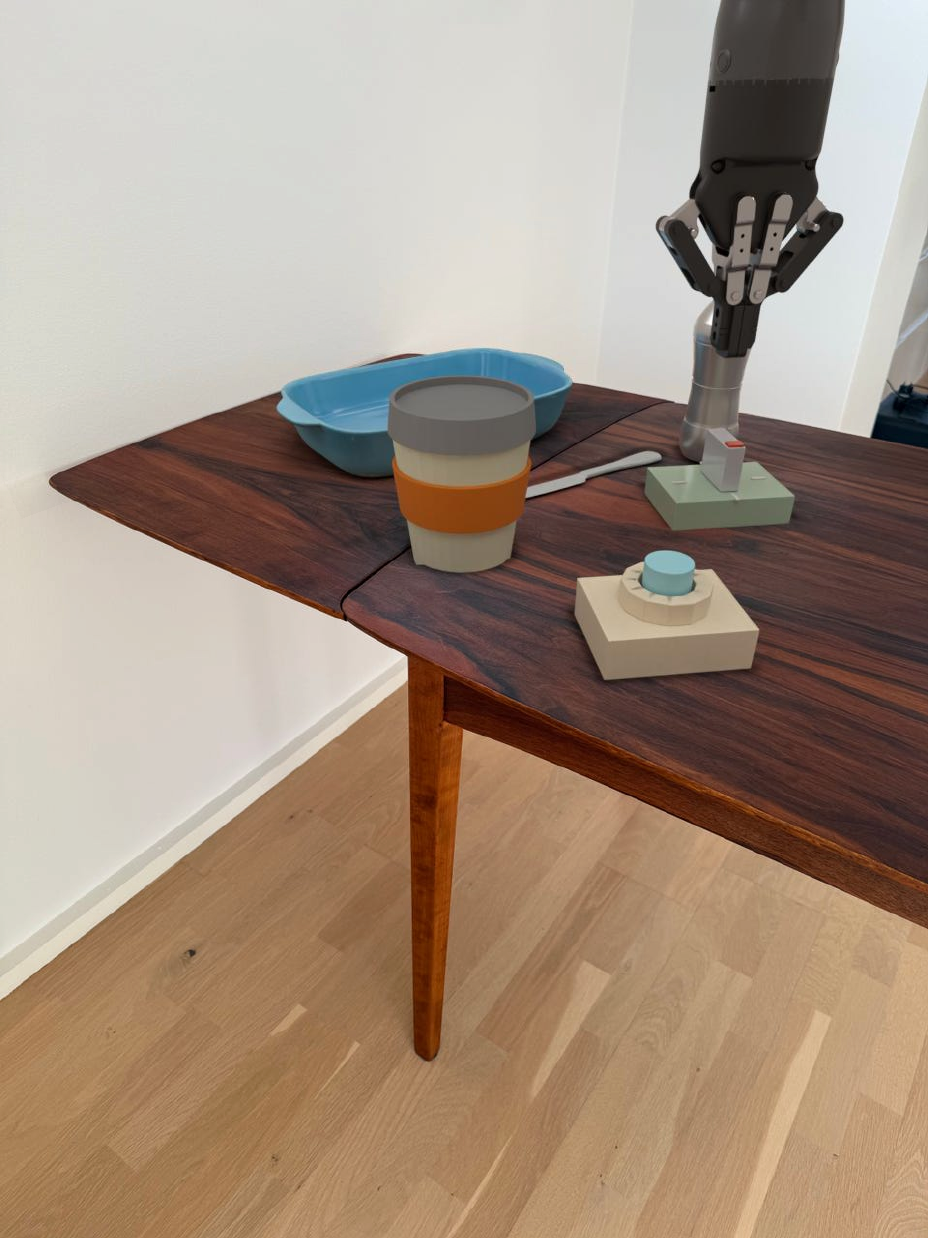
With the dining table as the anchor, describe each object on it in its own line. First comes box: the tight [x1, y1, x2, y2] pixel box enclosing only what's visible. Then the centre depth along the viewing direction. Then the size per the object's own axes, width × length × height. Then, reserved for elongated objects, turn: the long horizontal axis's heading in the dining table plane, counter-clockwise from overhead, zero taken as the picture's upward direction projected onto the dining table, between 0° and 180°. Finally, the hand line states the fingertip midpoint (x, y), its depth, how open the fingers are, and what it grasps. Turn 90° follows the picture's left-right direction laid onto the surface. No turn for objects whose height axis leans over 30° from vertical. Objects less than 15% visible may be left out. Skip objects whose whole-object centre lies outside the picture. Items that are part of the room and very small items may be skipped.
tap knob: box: [700, 428, 747, 492], centre depth 84 cm, size 6×2×5 cm, turn 7°
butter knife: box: [525, 450, 663, 499], centre depth 93 cm, size 1×24×3 cm
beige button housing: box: [574, 561, 760, 681], centre depth 64 cm, size 11×9×6 cm
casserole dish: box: [276, 347, 574, 478], centre depth 102 cm, size 37×22×7 cm, turn 123°
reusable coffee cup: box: [388, 375, 536, 573], centre depth 74 cm, size 13×13×15 cm
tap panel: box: [644, 461, 796, 532], centre depth 86 cm, size 12×10×3 cm
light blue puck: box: [642, 549, 696, 597], centre depth 62 cm, size 4×4×2 cm
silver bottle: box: [678, 299, 753, 463], centre depth 93 cm, size 6×7×20 cm
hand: (729, 354), depth 62 cm, fingers closed
